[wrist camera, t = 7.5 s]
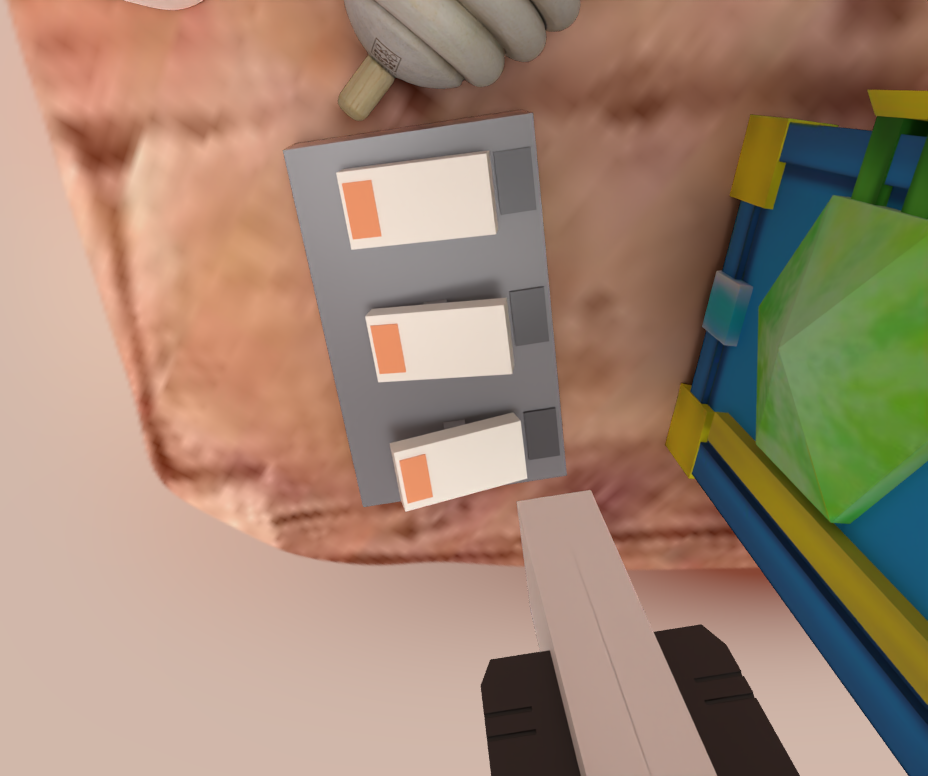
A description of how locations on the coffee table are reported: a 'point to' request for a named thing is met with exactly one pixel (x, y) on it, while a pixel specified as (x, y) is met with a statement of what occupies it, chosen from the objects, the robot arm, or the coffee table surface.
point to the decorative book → (828, 396)
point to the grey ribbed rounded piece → (444, 42)
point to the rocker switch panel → (433, 294)
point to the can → (166, 3)
